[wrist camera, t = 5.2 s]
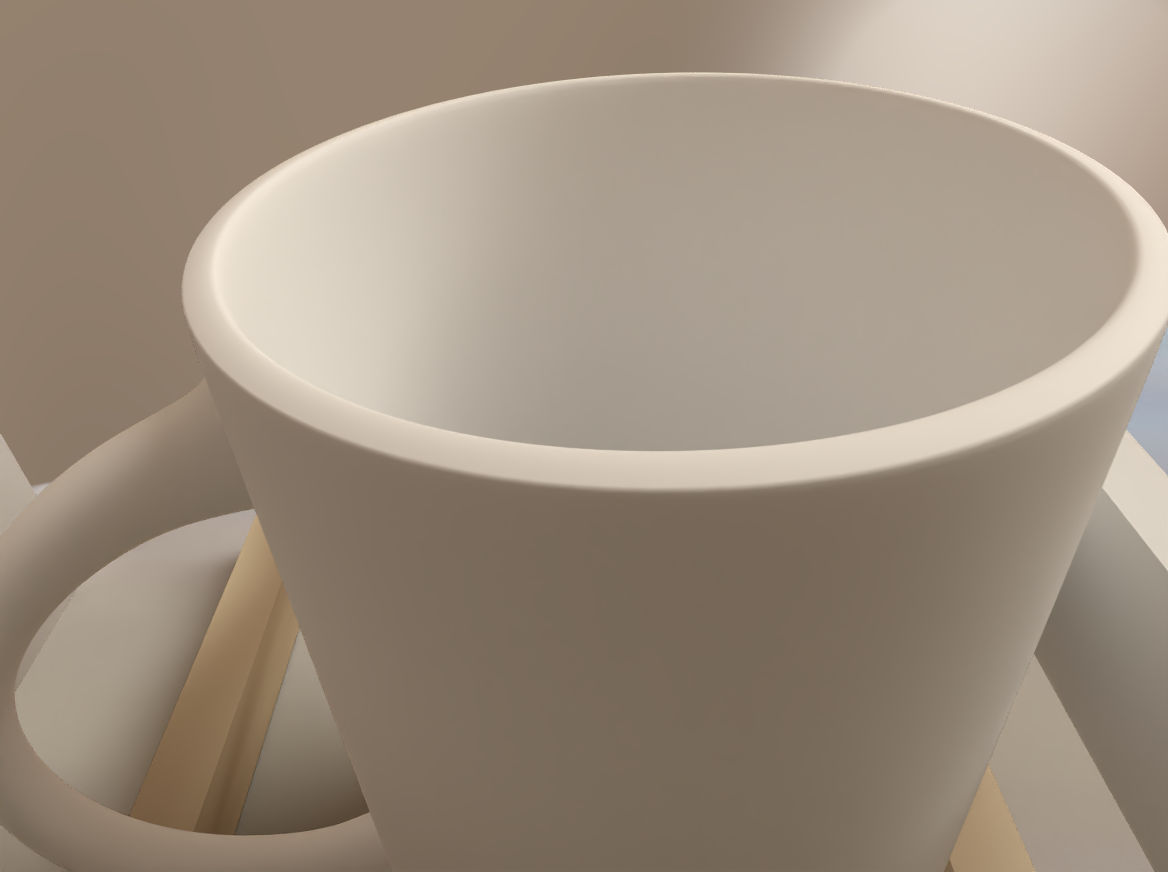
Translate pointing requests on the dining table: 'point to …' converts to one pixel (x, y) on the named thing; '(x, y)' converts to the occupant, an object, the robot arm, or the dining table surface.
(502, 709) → the mug
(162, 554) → the dining table surface
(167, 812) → the pocket frame
